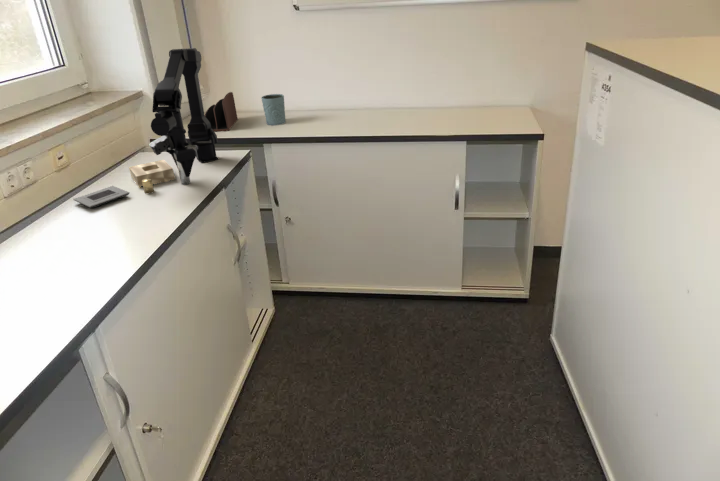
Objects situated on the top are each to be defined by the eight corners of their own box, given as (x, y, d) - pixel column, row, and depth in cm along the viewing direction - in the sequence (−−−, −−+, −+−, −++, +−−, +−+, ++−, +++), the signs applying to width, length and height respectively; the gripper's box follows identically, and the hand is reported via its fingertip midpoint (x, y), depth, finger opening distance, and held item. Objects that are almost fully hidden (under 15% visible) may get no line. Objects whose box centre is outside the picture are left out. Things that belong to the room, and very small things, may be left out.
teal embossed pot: (277, 126, 240) (273, 99, 234) (260, 124, 244) (256, 97, 239) (291, 121, 247) (288, 94, 242) (274, 119, 252) (271, 93, 247)
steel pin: (189, 180, 183) (183, 152, 179) (191, 183, 181) (185, 154, 176) (180, 182, 182) (174, 154, 177) (182, 185, 180) (176, 156, 175)
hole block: (166, 170, 194) (163, 159, 192) (175, 179, 185) (172, 168, 183) (131, 177, 189) (128, 167, 187) (139, 187, 180) (136, 176, 178)
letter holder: (238, 119, 255) (233, 89, 248) (229, 131, 237) (223, 99, 231) (217, 120, 255) (211, 90, 249) (206, 132, 238) (200, 100, 231)
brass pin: (153, 189, 178) (150, 177, 176) (155, 192, 176) (152, 180, 174) (143, 191, 176) (140, 180, 175) (145, 194, 174) (142, 182, 172)
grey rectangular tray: (114, 191, 179) (112, 184, 178) (131, 198, 173) (129, 191, 172) (75, 205, 170) (72, 198, 169) (91, 212, 164) (89, 205, 163)
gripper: (141, 125, 176) (152, 171, 183) (155, 138, 162) (166, 186, 169) (175, 119, 181) (185, 163, 188) (192, 131, 167) (201, 178, 174)
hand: (183, 173), depth 180 cm, fingers open, 9 cm apart
